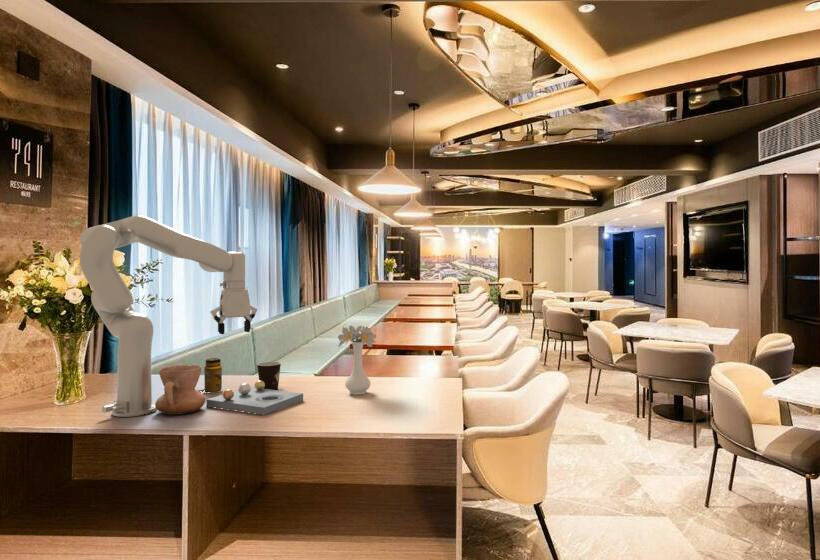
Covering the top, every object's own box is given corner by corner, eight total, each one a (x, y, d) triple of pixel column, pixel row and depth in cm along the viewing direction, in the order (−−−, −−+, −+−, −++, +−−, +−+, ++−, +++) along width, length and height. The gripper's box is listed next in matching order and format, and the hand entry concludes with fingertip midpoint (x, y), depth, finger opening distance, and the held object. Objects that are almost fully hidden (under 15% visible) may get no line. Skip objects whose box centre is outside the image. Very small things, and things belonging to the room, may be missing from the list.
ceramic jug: (171, 404, 169) (171, 362, 169) (214, 404, 169) (213, 362, 169) (141, 420, 152) (141, 373, 151) (189, 420, 151) (189, 373, 151)
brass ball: (260, 391, 177) (260, 381, 177) (252, 390, 178) (252, 380, 178) (266, 389, 180) (266, 379, 180) (259, 388, 182) (259, 379, 182)
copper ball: (228, 401, 163) (228, 391, 163) (220, 400, 165) (220, 389, 165) (236, 399, 166) (236, 388, 166) (228, 398, 168) (228, 387, 168)
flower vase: (379, 387, 195) (379, 322, 194) (369, 399, 176) (369, 328, 176) (346, 386, 196) (346, 322, 196) (333, 398, 178) (333, 327, 177)
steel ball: (244, 396, 170) (244, 384, 170) (235, 395, 171) (235, 383, 171) (253, 394, 173) (253, 382, 173) (244, 393, 175) (244, 381, 175)
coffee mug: (266, 393, 184) (266, 366, 184) (252, 390, 189) (252, 364, 189) (291, 388, 193) (291, 362, 193) (277, 385, 199) (277, 359, 198)
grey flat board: (206, 406, 166) (206, 399, 166) (249, 393, 184) (249, 386, 184) (263, 415, 156) (263, 407, 156) (303, 400, 174) (303, 393, 174)
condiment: (225, 391, 189) (225, 359, 189) (203, 394, 183) (203, 362, 183) (217, 387, 194) (217, 356, 194) (195, 391, 188) (195, 359, 188)
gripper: (215, 286, 175) (215, 335, 175) (261, 285, 187) (261, 331, 187) (206, 286, 180) (206, 334, 180) (251, 285, 192) (251, 330, 192)
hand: (234, 332), depth 184 cm, fingers open, 9 cm apart
